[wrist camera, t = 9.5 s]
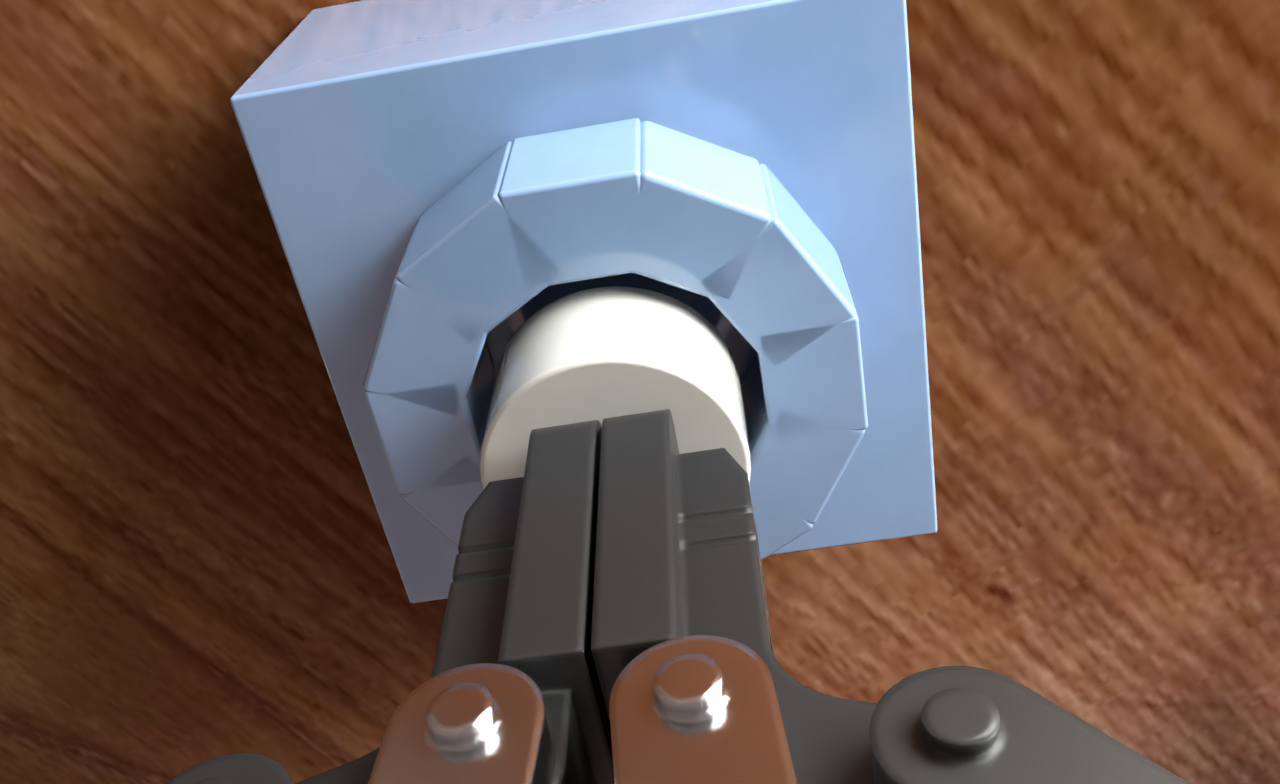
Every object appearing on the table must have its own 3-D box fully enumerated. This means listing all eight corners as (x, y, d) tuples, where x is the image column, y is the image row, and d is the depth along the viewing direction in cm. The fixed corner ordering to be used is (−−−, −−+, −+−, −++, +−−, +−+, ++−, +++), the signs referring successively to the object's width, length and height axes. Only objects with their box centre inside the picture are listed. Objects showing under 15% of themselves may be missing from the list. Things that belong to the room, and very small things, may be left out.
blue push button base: (447, 450, 22) (387, 692, 17) (310, 9, 18) (177, 150, 13) (889, 386, 21) (966, 617, 16) (851, -89, 17) (938, 18, 12)
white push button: (525, 508, 16) (513, 597, 14) (469, 305, 14) (449, 381, 13) (755, 475, 15) (767, 562, 14) (722, 265, 14) (732, 338, 12)
